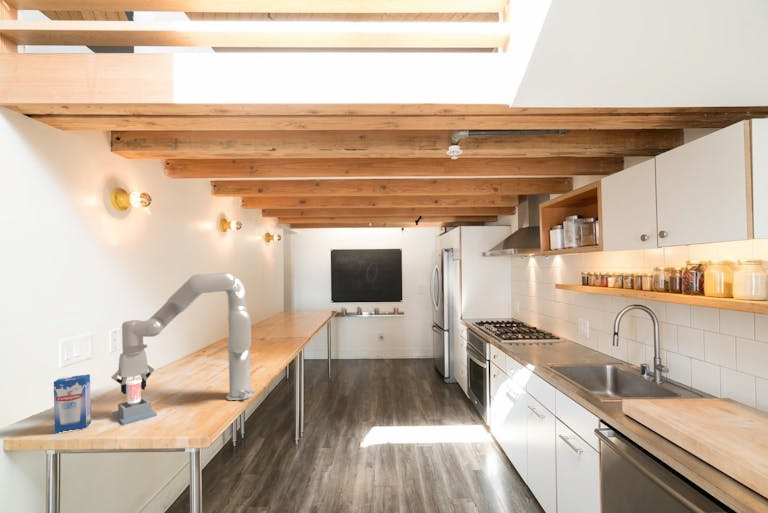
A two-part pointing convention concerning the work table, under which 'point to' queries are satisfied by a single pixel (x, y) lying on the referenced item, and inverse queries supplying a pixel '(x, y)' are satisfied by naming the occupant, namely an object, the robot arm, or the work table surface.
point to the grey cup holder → (134, 411)
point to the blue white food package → (72, 403)
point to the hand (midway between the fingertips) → (133, 390)
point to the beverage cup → (133, 390)
